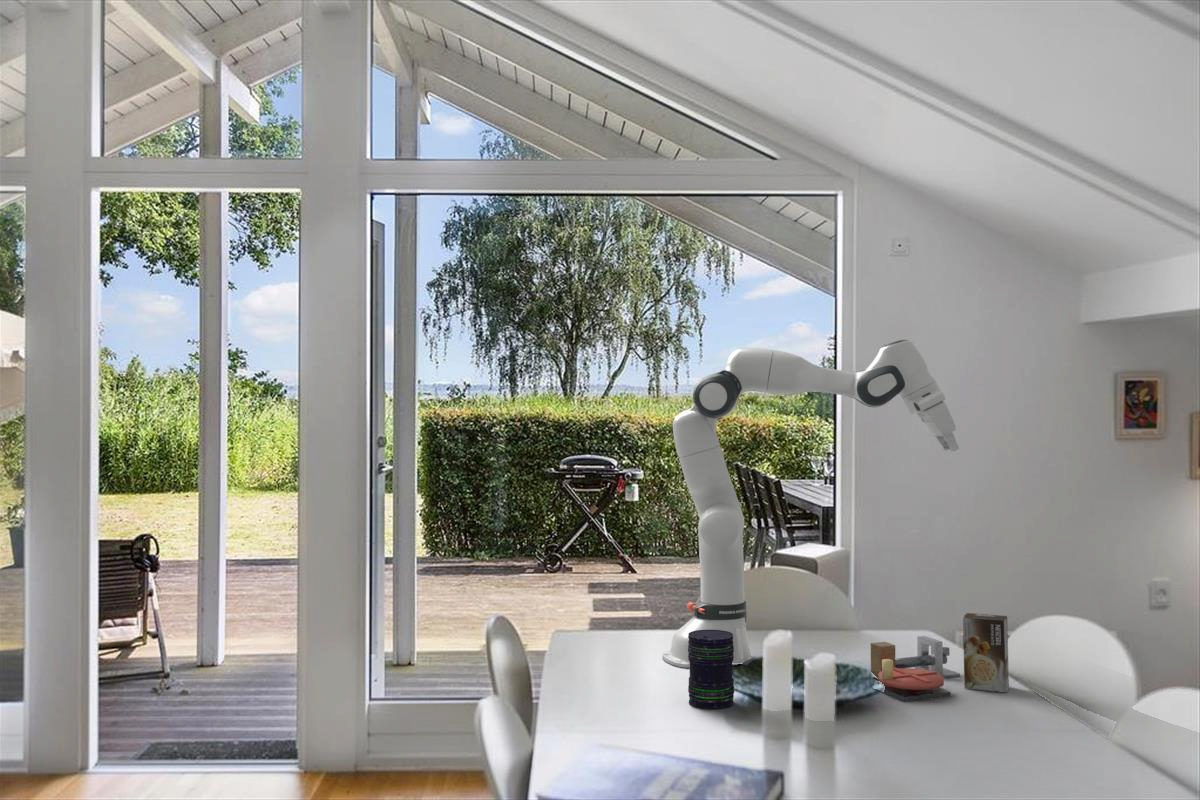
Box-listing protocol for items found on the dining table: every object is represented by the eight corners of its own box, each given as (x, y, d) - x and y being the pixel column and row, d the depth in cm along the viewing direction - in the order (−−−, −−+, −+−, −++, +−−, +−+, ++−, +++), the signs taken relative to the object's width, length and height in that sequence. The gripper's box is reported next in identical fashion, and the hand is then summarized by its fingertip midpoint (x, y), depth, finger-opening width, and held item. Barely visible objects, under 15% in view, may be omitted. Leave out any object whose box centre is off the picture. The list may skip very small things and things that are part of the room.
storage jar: (700, 695, 241) (700, 627, 241) (741, 701, 236) (741, 632, 236) (680, 706, 232) (679, 636, 232) (722, 712, 227) (721, 641, 227)
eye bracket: (938, 678, 253) (938, 643, 253) (914, 669, 262) (914, 635, 262) (959, 676, 255) (959, 641, 255) (935, 667, 264) (935, 633, 264)
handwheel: (902, 697, 233) (901, 668, 233) (865, 681, 246) (864, 654, 246) (957, 690, 238) (957, 662, 238) (918, 675, 251) (917, 648, 251)
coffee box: (1010, 686, 246) (1009, 615, 246) (1006, 693, 240) (1005, 620, 240) (967, 682, 250) (967, 612, 250) (962, 688, 244) (962, 617, 244)
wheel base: (904, 701, 234) (904, 695, 234) (872, 688, 245) (872, 682, 245) (950, 696, 238) (950, 690, 238) (917, 683, 249) (917, 677, 249)
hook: (880, 680, 251) (880, 646, 251) (870, 676, 255) (870, 643, 255) (953, 672, 258) (953, 639, 258) (942, 668, 261) (942, 636, 261)
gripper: (906, 406, 277) (932, 454, 276) (919, 404, 257) (948, 456, 256) (928, 395, 277) (955, 443, 276) (943, 392, 256) (972, 444, 255)
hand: (951, 449), depth 266 cm, fingers open, 8 cm apart
